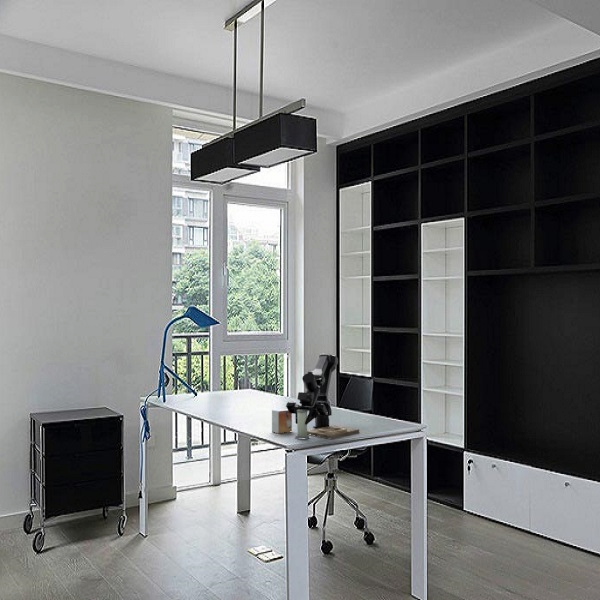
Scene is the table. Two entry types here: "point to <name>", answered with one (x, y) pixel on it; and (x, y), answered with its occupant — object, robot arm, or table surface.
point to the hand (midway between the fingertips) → (300, 423)
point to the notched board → (333, 431)
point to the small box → (281, 421)
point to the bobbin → (302, 424)
